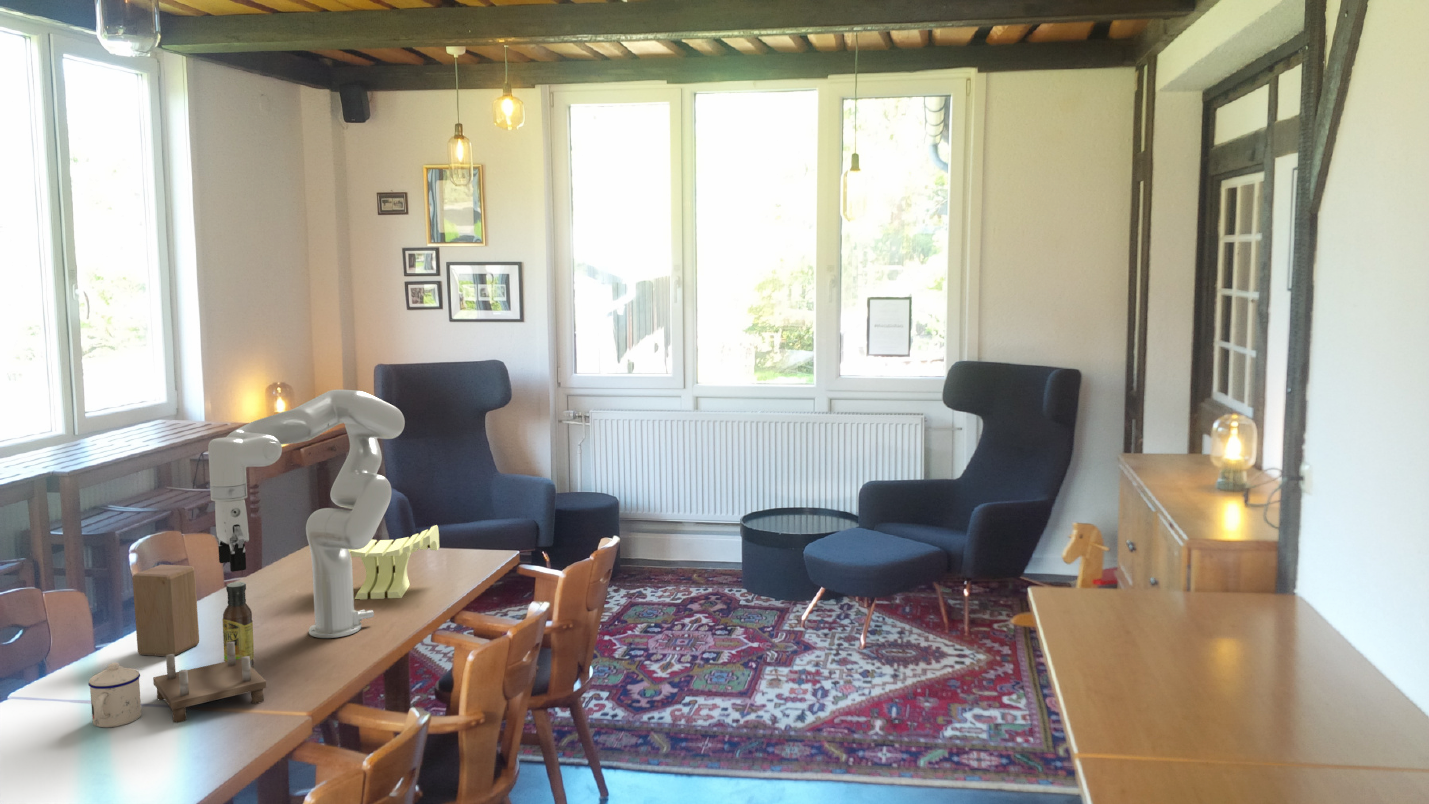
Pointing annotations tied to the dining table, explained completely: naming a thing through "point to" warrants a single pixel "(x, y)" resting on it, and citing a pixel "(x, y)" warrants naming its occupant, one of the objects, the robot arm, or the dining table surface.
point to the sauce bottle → (238, 622)
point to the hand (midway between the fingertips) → (232, 566)
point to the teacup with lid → (115, 696)
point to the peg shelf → (208, 683)
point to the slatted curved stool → (391, 563)
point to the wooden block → (165, 610)
